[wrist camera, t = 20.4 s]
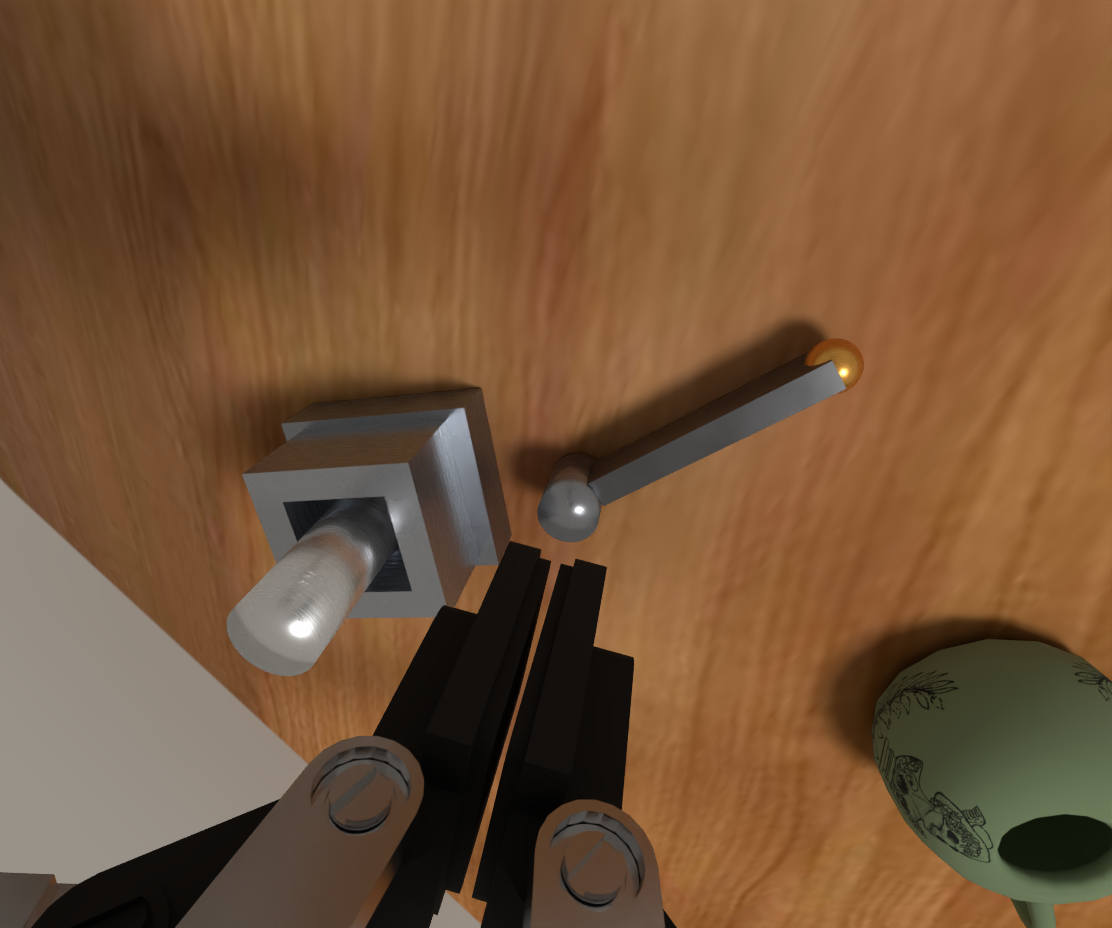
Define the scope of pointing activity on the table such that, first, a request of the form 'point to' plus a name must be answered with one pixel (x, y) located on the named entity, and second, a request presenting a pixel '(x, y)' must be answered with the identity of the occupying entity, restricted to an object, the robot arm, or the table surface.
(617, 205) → the table surface
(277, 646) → the rod
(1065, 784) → the mug
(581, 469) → the lever
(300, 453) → the block
